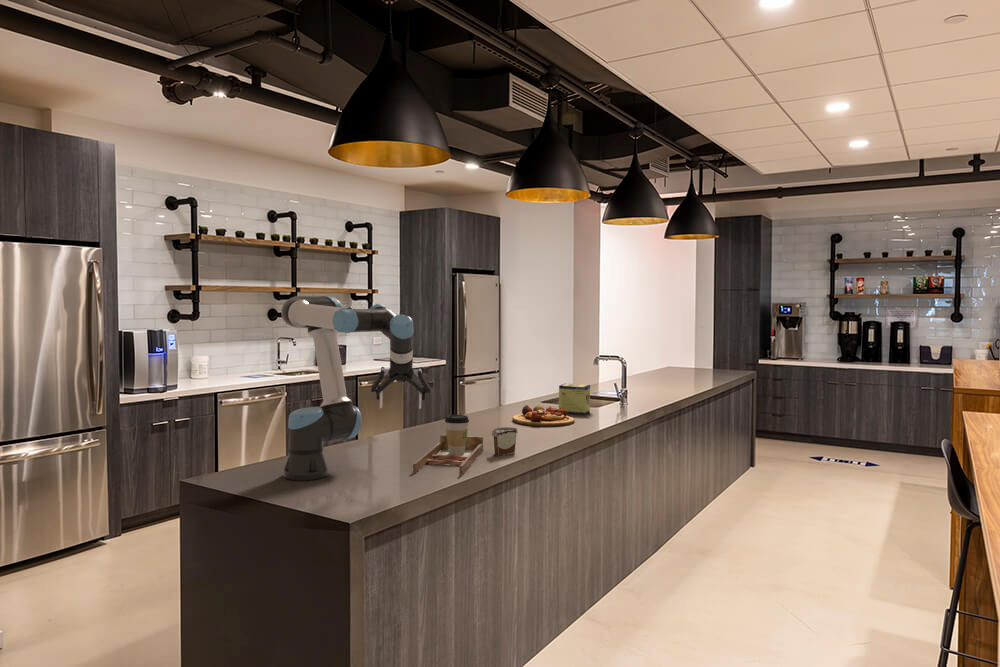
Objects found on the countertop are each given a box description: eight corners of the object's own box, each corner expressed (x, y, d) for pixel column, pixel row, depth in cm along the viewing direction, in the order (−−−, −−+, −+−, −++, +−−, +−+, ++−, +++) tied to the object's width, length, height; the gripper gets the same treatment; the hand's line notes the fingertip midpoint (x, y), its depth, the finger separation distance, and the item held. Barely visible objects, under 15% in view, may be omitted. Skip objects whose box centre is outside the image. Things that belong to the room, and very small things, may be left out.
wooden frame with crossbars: (413, 473, 244) (413, 456, 244) (440, 449, 283) (440, 434, 283) (462, 475, 241) (462, 459, 241) (483, 451, 280) (483, 436, 280)
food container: (506, 449, 284) (507, 425, 283) (517, 452, 279) (517, 428, 279) (485, 454, 275) (485, 429, 275) (495, 456, 271) (496, 431, 270)
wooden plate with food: (553, 430, 329) (553, 413, 328) (500, 422, 347) (500, 405, 347) (585, 422, 354) (586, 406, 354) (534, 415, 373) (534, 400, 373)
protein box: (585, 415, 370) (586, 386, 369) (558, 413, 376) (558, 385, 375) (590, 412, 380) (590, 384, 379) (563, 410, 386) (563, 383, 385)
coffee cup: (473, 453, 274) (474, 416, 273) (456, 457, 267) (456, 419, 266) (457, 449, 280) (457, 413, 280) (439, 453, 273) (439, 416, 272)
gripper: (362, 364, 223) (363, 412, 235) (438, 365, 226) (436, 413, 239) (364, 350, 229) (365, 398, 242) (438, 352, 233) (436, 399, 245)
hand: (400, 406), depth 240 cm, fingers open, 13 cm apart
